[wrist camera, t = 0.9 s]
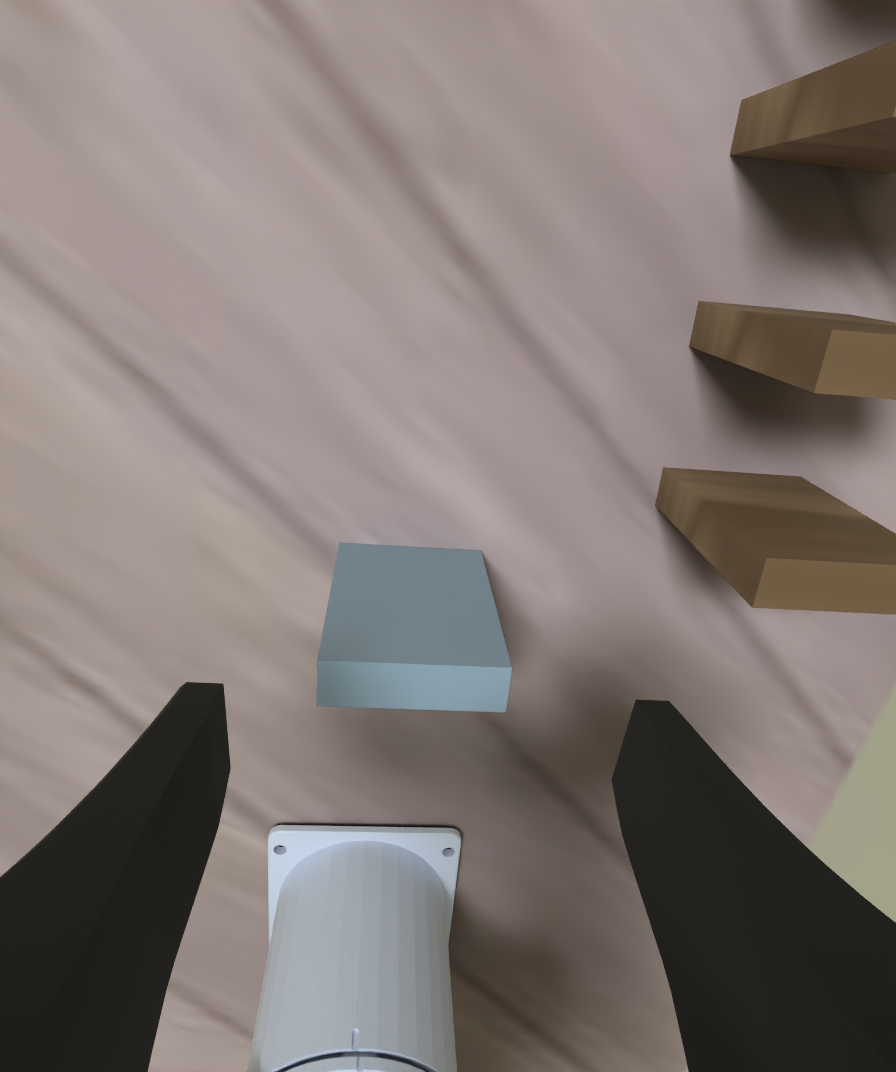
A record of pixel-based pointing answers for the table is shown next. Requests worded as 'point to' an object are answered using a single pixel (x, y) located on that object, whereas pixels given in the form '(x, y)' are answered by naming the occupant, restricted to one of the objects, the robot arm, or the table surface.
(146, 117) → the table surface
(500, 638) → the domino
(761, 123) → the domino
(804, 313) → the domino
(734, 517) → the domino
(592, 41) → the table surface
